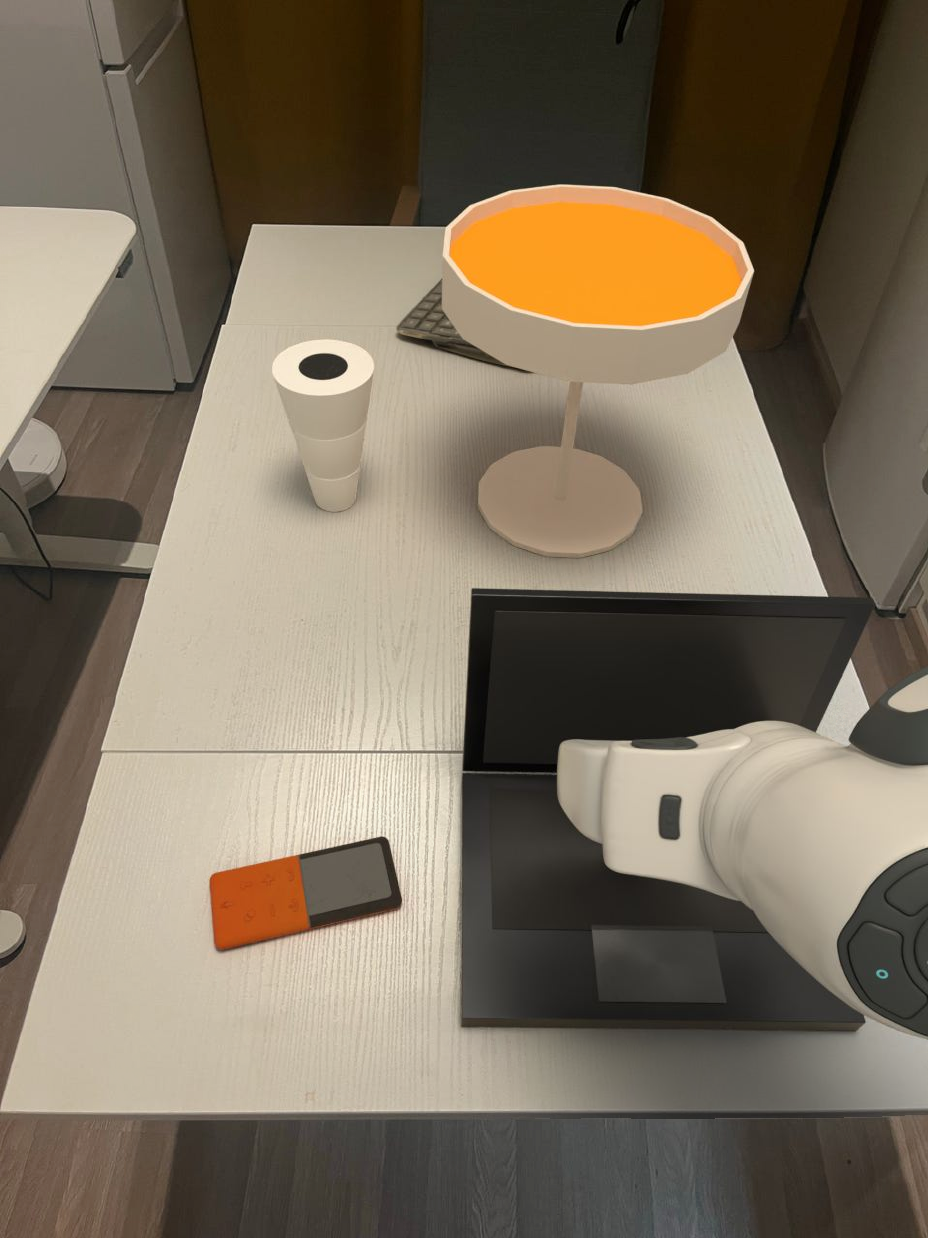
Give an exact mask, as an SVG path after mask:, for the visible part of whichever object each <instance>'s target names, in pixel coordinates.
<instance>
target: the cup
mask: <svg viewBox="0 0 928 1238" xmlns="http://www.w3.org/2000/svg"><path fill="white" fill-rule="evenodd" d="M374 371H375V362H374V359H373V357H372V356H371V354H370V353H369V352H368V351H366V350H365V349H364V348H362V347H360V346H359V345H356V344H354V343H351V342H348V341H344V340H338V339H312V340H307V341H304V342H300V343H297V344H294V345H291V346H289V347H288V348H285V349H284V350H282V351H281V352H280V353H279V354H278V355H277V356H276V357H275V358H274V360H273V362H272V364H271V373H272V377H273V379H274V383H275V385H276V388H277V392H278V394H279V398H280V400H281V404H282V406H283V410H284V412H285V415H286V418H287V420H288V423H289V427H290V430H291V433H292V436H293V438H294V441H295V444H296V447H297V450H298V453H299V456H300V459H301V462H302V464H303V468H304V471H305V474H306V478H307V480H308V484H309V487H310V489H311V492H312V496H313V498H314V501H315V504H316V505H317V506H318V508H319V509H321V510H323V511H326V512H329V513H331V512H332V513H338V512H343V511H347V510H349V509H350V508H352V506H353V505H354V504H356V500H357V491H358V485H359V484H358V483H359V479H360V470H361V464H362V462H361V460H362V454H363V448H364V442H365V435H366V428H367V421H368V414H369V407H370V402H371V394H372V386H373V380H374Z"/></svg>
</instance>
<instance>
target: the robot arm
mask: <svg viewBox="0 0 928 1238" xmlns="http://www.w3.org/2000/svg"><path fill="white" fill-rule="evenodd" d="M847 740H848V743H849V745H844V744H842V743H840V742H838V741H836V740H833V739H831V738H828V737H826V736H824V735H822V734H820V733H817V732H816V733H815V732H813V731H811V730H808V729H806V728H804V727H802V726H799V725H796V724H792V723H788V722H782V721H760V722H754V723H749V724H746V725H743V726H740V727H738V728H735V729H727V730H720V731H715V732H710V733H706V734H702V735H697V736H692V737H686V738H685V737H677V738H667V739H640V740H633V741H604V740H580V739H572V740H566V741H563V742H562V743H561V744H560V746H559V752H558V765H557V773H556V775H557V795H558V800H559V803H560V805H561V807H562V809H563V810H564V812H565V814H566V815H567V817H568V818H569V819H570V821H571V822H572V823H573V824H574V826H575V827H576V828H577V829H578V830H579V831H580V832H581V833H582V834H583V835H585V836H586V837H588V838H589V839H591V840H593V841H595V842H598V843H601V844H602V847H603V857H604V862H605V864H606V866H607V867H608V868H610V869H611V870H613V871H615V872H618V873H623V874H629V875H636V876H639V877H646V878H652V879H658V880H664V881H669V882H674V883H680V884H686V885H690V886H693V887H697V888H700V889H703V890H706V891H709V892H712V893H714V894H717V895H720V896H723V897H726V898H729V899H733V900H737V901H742V902H743V903H744V904H745V905H746V906H747V907H749V908H750V909H752V910H753V911H754V912H755V914H756V916H757V918H758V919H759V921H760V922H761V924H762V925H763V926H764V927H765V929H766V930H767V931H768V932H769V934H770V935H771V936H772V937H773V938H774V939H775V940H776V941H777V942H778V943H779V944H780V945H781V947H782V948H783V949H784V950H785V951H786V952H787V953H788V954H789V955H790V956H791V957H792V958H793V959H794V960H795V961H797V962H798V963H799V964H800V965H801V966H802V967H803V968H804V969H805V970H806V971H807V972H808V973H809V974H811V975H812V976H813V977H814V978H815V979H816V980H817V981H819V982H820V983H821V984H822V985H823V986H824V987H825V988H826V989H828V990H829V991H830V992H832V993H833V994H834V995H836V996H837V997H838V998H840V999H841V1000H842V1001H844V1002H845V1003H846V1004H848V1005H849V1006H850V1007H852V1008H853V1009H855V1010H857V1011H858V1012H860V1013H862V1014H863V1015H864V1017H867V1018H869V1019H871V1020H873V1021H874V1022H877V1023H878V1024H881V1025H883V1026H886V1027H888V1028H890V1029H892V1030H895V1031H897V1032H901V1033H904V1034H907V1035H910V1036H913V1037H917V1038H920V1039H923V1040H928V665H926V666H925V667H924V666H923V667H922V668H920V669H918V670H917V671H915V672H913V673H910V674H909V675H908V676H906V677H905V678H903V679H901V680H900V681H898V682H897V683H895V684H894V685H892V686H891V687H890V688H888V689H887V690H886V691H884V692H883V693H882V694H881V696H880V697H879V698H878V699H877V700H876V701H875V702H873V704H872V705H871V706H870V707H869V709H868V710H866V712H865V713H864V714H863V715H862V716H861V718H860V719H859V720H858V722H857V723H856V724H855V726H854V727H853V728H852V731H851V732H850V734H849V737H848V738H847Z"/></svg>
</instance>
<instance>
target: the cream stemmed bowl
mask: <svg viewBox="0 0 928 1238" xmlns="http://www.w3.org/2000/svg"><path fill="white" fill-rule="evenodd" d="M444 228H445V230H444V231H445V232H444V238H443V239H444V240H443V248H442V250H443V251H442V273H441V274H442V275H441V279H442V310H443V311H444V313H445V314H446V315H447V317H448V318H449V320H450V321H451V323H452V324H453V326H454V327H455V328H456V330H457V331H458V333H459V334H460V336H461V337H462V339H464V340H466V341H467V342H469V343H471V344H472V345H474V346H476V347H477V348H479V349H481V350H482V351H484V352H486V353H487V354H489V355H491V356H492V357H494V358H496V359H497V360H499V361H501V362H502V363H504V364H506V365H509V366H508V367H511V366H512V368H515V367H516V368H515V369H519V370H524V371H527V372H531V373H534V374H538V375H541V376H545V377H549V378H552V379H556V380H559V381H563V382H569V387H568V394H567V402H566V408H565V415H564V423H563V430H562V437H561V444H560V446H551V445H550V446H549V445H539V446H535V447H530V448H524V449H520V450H515V451H512V452H510V453H509V454H507V455H505V456H503V457H502V458H500V459H498V460H496V461H494V462H493V463H491V464H490V466H489V467H488V468H487V470H486V471H485V472H484V474H483V475H482V477H481V478H480V480H479V481H478V489H477V490H478V493H477V509H478V511H479V512H480V514H481V516H482V518H483V519H484V521H485V523H486V524H487V527H488V528H489V530H491V531H492V532H493V533H495V534H496V535H498V536H499V537H500V538H502V539H504V540H505V541H506V542H507V543H509V544H510V545H511V546H513V547H516V548H519V549H522V550H525V551H527V552H531V553H534V554H537V555H540V556H543V557H548V558H549V557H550V558H568V559H569V558H570V559H571V558H572V559H582V558H585V557H590V556H593V555H597V554H601V553H606V552H610V551H612V550H613V549H615V548H616V547H617V546H619V545H620V544H622V543H623V542H625V541H626V540H628V539H629V538H630V537H632V536H633V534H634V533H635V530H636V528H637V526H638V525H639V522H640V520H641V518H642V516H643V505H642V497H641V490H640V489H639V487H638V486H637V484H635V482H634V481H633V479H632V478H631V477H630V476H629V475H628V473H627V472H626V471H625V470H624V469H623V468H621V467H620V466H618V465H616V464H614V463H613V462H611V460H608V459H606V458H605V457H604V456H602V455H598V454H595V453H592V452H588V451H585V450H582V449H578V448H575V447H574V446H575V445H574V444H575V440H576V439H575V438H576V432H577V425H578V420H579V413H580V406H581V399H582V394H583V387H584V383H588V384H589V383H590V384H613V385H630V386H631V385H632V386H633V385H636V384H637V385H638V384H641V383H646V382H647V383H648V382H652V381H657V380H661V379H663V380H664V379H667V378H673V377H678V376H684V375H688V374H690V373H692V372H693V371H695V370H697V369H699V368H700V367H702V366H704V365H706V364H707V363H709V362H710V361H712V360H714V359H716V358H717V357H719V356H720V355H722V354H724V353H726V352H727V350H728V348H729V346H730V343H731V341H732V339H733V337H734V335H735V333H736V331H737V329H738V327H739V325H740V322H741V318H742V315H743V311H744V308H745V305H746V301H747V298H748V294H749V291H750V287H751V284H752V280H753V277H754V273H755V269H754V267H753V264H752V261H751V258H750V256H749V253H748V251H747V247H746V245H745V243H744V242H743V241H742V240H741V239H740V238H738V237H737V236H736V235H735V234H734V233H733V232H731V231H729V230H728V229H727V228H726V227H725V226H723V225H722V224H721V223H720V222H719V221H717V220H716V219H715V218H714V217H712V216H710V215H707V214H705V213H703V212H700V211H698V210H695V209H693V208H691V207H689V206H686V205H684V204H681V203H679V202H677V201H674V200H673V199H670V198H667V197H663V196H658V195H653V194H648V193H644V192H639V191H634V190H629V189H624V188H620V187H616V186H601V185H600V186H599V185H583V184H582V185H581V184H562V183H561V184H552V185H543V186H535V187H527V188H519V189H513V190H508V191H505V192H502V193H499V194H497V195H494V196H492V197H489V198H486V199H484V200H480V201H478V202H476V203H472V204H470V205H468V207H466V208H465V209H464V210H463V211H462V212H461V213H459V215H458V216H457V217H456V218H454V219H453V220H452V221H451V222H450V223H449V224H448V225H447V226H446V227H444Z"/></svg>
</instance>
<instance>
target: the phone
mask: <svg viewBox="0 0 928 1238" xmlns="http://www.w3.org/2000/svg"><path fill="white" fill-rule="evenodd" d="M208 882H209V883H208V884H209V892H210V895H209V896H210V907H211V919H212V920H211V921H212V931H213V943H214V947H216V949H218V950H221V951H222V950H223V951H224V950H227V949H232V948H237V947H241V946H244V945H245V946H246V945H248V944H253V943H257V942H261V941H266V940H269V939H274V938H280V937H282V936H287V935H292V934H295V933H298V932H304V931H308V930H312V929H316V928H317V929H318V928H321V927H326V926H329V925H334V924H338V923H342V922H346V921H350V920H353V919H359V918H364V917H368V916H371V915H377V914H380V913H384V912H389V911H392V910H393V911H394V910H397V909H399V908H400V907H401V906H402V905H403V896H402V893H401V889H400V883H399V879H398V875H397V870H396V867H395V861H394V858H393V852H392V849H391V845H390V841H389V839H388V837H386V836H377V837H373V838H368V839H364V840H363V839H362V840H358V841H354V842H350V843H344V844H340V845H336V846H333V847H332V846H331V847H327V848H322V849H318V850H313V851H308V852H304V853H300V854H295V855H291V856H286V857H281V858H277V859H272V860H268V861H262V862H259V863H254V864H249V865H245V866H241V867H236V868H231V869H227V870H222V871H218V872H214V873H212V874H211V875H210V877H209V879H208Z"/></svg>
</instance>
